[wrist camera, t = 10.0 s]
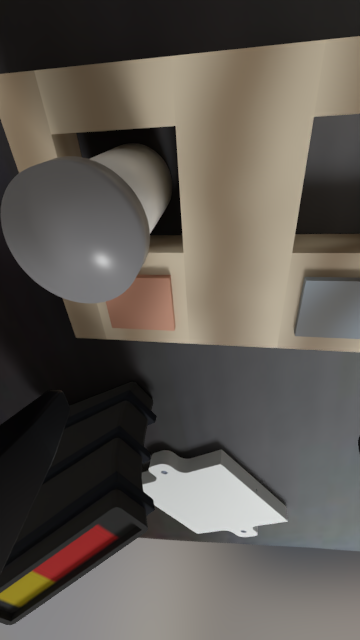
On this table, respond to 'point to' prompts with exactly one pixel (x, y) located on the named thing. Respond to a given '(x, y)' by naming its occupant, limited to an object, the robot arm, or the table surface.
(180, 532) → the table surface
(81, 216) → the plug
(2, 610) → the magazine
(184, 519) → the mounting plate
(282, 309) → the socket board
